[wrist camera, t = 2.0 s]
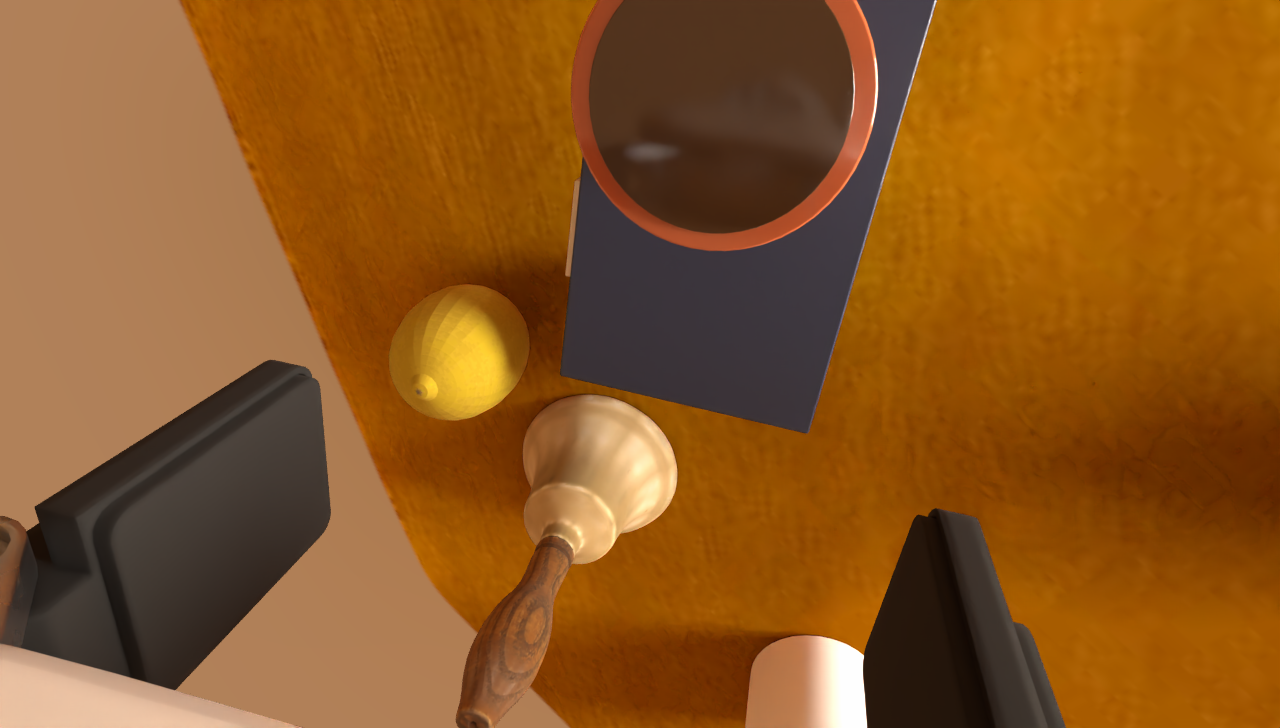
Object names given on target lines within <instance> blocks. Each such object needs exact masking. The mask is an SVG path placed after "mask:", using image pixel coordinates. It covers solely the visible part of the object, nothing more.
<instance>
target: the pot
mask: <svg viewBox="0 0 1280 728" xmlns="http://www.w3.org/2000/svg"><path fill="white" fill-rule="evenodd" d="M877 96H878V69H877V60H876V54H875V48H874V43H873V39H872V36H871V33H870V30H869V27H868V24H867V21H866V18H865V16H864V14H863V12H862V10H861V8H860V6H859V4H858V2H857V0H597V2H596V4H595V6H594V7H593V9H592V11H591V13H590V14H589V16H588V19H587V21H586V24H585V26H584V28H583V31H582V33H581V36H580V39H579V43H578V46H577V50H576V54H575V58H574V65H573V71H572V82H571V103H572V115H573V121H574V126H575V131H576V136H577V139H578V142H579V145H580V148H581V151H582V154H583V157H584V159H585V161H586V163H587V165H588V167H589V170H590V172H591V174H592V175H593V177H594V178H595V180H596V182H597V183H598V185H599V186H600V188H601V189H602V191H603V192H604V193H605V194H606V196H607V197H608V198H609V199H610V201H611V202H612V203H613V204H614V205H615V206H616V207H617V208H618V209H619V210H620V211H621V212H622V213H623V214H624V215H625V216H626V217H628V218H629V219H630V220H632V221H633V222H634V223H636V224H637V225H638V226H640V227H641V228H643V229H644V230H646V231H648V232H650V233H651V234H653V235H655V236H657V237H659V238H661V239H664V240H666V241H669V242H671V243H673V244H677V245H681V246H684V247H688V248H692V249H699V250H706V251H733V250H742V249H748V248H752V247H756V246H760V245H764V244H767V243H769V242H772V241H775V240H777V239H780V238H782V237H784V236H786V235H788V234H790V233H792V232H794V231H795V230H797V229H799V228H801V227H802V226H803V225H805V224H806V223H808V222H809V221H810V220H812V219H813V218H815V217H816V216H817V215H818V214H819V213H820V212H821V211H822V210H824V209H825V208H826V207H827V206H828V205H829V204H830V203H831V202H832V201H833V200H834V198H835V197H836V196H837V195H838V194H839V192H840V191H841V190H842V189H843V188H844V186H845V185H846V183H847V182H848V180H849V179H850V177H851V176H852V174H853V173H854V171H855V169H856V167H857V165H858V163H859V161H860V159H861V157H862V155H863V153H864V151H865V149H866V146H867V143H868V140H869V137H870V134H871V131H872V127H873V123H874V118H875V113H876V108H877Z"/></svg>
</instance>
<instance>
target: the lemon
mask: <svg viewBox="0 0 1280 728" xmlns="http://www.w3.org/2000/svg"><path fill="white" fill-rule="evenodd" d="M529 350H530V343H529V332H528V329H527V326H526V323H525V320H524V318H523V316H522V315H521V313H520V312H519V310H518V308H517V307H516V306H515V305H514V304H513V303H512V302H511V301H510V300H509V299H508V298H506V297H505V296H503V295H502V294H500V293H499V292H497V291H495V290H493V289H490V288H487V287H485V286H479V285H471V284H464V285H456V286H449V287H446V288H443V289H441V290H439V291H437V292H435V293H432V294H430V295H428V296H427V297H425V298H424V299H423V300H421V301H420V302H419V303H418V304H417V305H416V306H415V307H414V308H412V309H411V310H410V311H409V312H408V314H407V315H406V316H405V317H404V319H403V321H402V322H401V324H400V326H399V327H398V329H397V331H396V333H395V334H394V337H393V339H392V343H391V347H390V352H389V369H390V374H391V377H392V381H393V383H394V385H395V387H396V389H397V391H398V392H399V394H400V395H401V397H402V398H403V399H404V400H405V401H406V402H407V403H408V404H409V405H410V406H411V407H413V408H414V409H415V410H417V411H419V412H420V413H422V414H424V415H426V416H428V417H432V418H435V419H439V420H455V421H457V420H461V419H466V418H471V417H474V416H477V415H479V414H481V413H483V412H485V411H486V410H488V409H490V408H492V407H494V406H495V405H497V404H498V403H499V402H501V401H502V400H503V399H504V398H505V397H506V396H507V395H508V394H509V393H510V392H511V391H512V390H513V389H514V387H515V386H516V385H517V383H518V381H519V380H520V378H521V376H522V374H523V372H524V370H525V368H526V365H527V361H528V355H529Z"/></svg>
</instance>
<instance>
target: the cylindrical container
mask: <svg viewBox="0 0 1280 728" xmlns="http://www.w3.org/2000/svg"><path fill="white" fill-rule="evenodd" d="M863 658H864V656H863V655H862V654H861V653H860V652H858V651H857V650H855V649H854V648H852V647H850V646H848V645H847V644H844V643H842V642H839V641H836V640H834V639H830V638H825V637H821V636H809V635H803V636H792V637H788V638H784V639H780V640H778V641H776V642H774V643H771V644H770V645H768V646H767V647H766V648H764V649H763V650H762V651H761V652H760V653H759V654H758V655H757V657H756V659H755V660H754V662H753V664H752V669H751V674H750V685H749V695H748V705H747V715H746V725H745V728H867V721H866V709H865V697H864V684H863Z"/></svg>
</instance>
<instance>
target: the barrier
mask: <svg viewBox="0 0 1280 728" xmlns="http://www.w3.org/2000/svg"><path fill="white" fill-rule="evenodd" d="M936 1H937V0H857V2H858V4H859V6H860V8H861V10H862V12H863V14H864V16H865V18H866V21H867V24H868V27H869V30H870V33H871V36H872V39H873V43H874V48H875V54H876V60H877V69H878V96H877V108H876V113H875V118H874V123H873V127H872V131H871V134H870V137H869V140H868V143H867V146H866V149H865V151H864V153H863V155H862V157H861V159H860V161H859V163H858V165H857V167H856V169H855V171H854V173H853V174H852V176H851V177H850V179H849V180H848V182H847V183H846V185H845V186H844V188H843V189H842V190H841V191H840V192H839V194H838V195H837V196H836V197H835V198H834V200H833V201H832V202H831V203H830V204H829V205H828V206H827V207H826V208H825V209H824V210H822V211H821V212H820V213H819V214H818V215H817V216H816V217H815V218H813V219H812V220H810V221H809V222H808V223H806V224H805V225H803V226H802V227H801V228H799V229H797V230H795V231H794V232H792V233H790V234H788V235H786V236H784V237H782V238H780V239H777V240H775V241H772V242H769V243H767V244H764V245H760V246H756V247H752V248H748V249H742V250H733V251H706V250H699V249H692V248H688V247H684V246H681V245H677V244H673V243H671V242H669V241H666V240H664V239H661V238H659V237H657V236H655V235H653V234H651V233H650V232H648V231H646V230H644V229H643V228H641V227H640V226H638V225H637V224H636V223H634V222H633V221H632V220H630V219H629V218H628V217H626V216H625V215H624V214H623V213H622V212H621V211H620V210H619V209H618V208H617V207H616V206H615V205H614V204H613V203H612V202H611V201H610V199H609V198H608V197H607V196H606V194H605V193H604V192H603V191H602V189H601V188H600V186H599V185H598V183H597V182H596V180H595V178H594V177H593V175H592V174H591V172H590V170H589V167H588V165H587V163H586V161H585V159H584V157H583V159H582V169H581V177H580V178H578V179H577V180H575V185H574V195H573V205H572V215H571V224H570V234H569V244H568V254H567V264H566V273H565V276H569V277H570V283H569V292H568V302H567V311H566V321H565V330H564V340H563V349H562V359H561V368H560V375H561V376H565V377H569V378H573V379H578V380H582V381H586V382H590V383H595V384H599V385H603V386H607V387H611V388H616V389H620V390H624V391H628V392H633V393H637V394H641V395H645V396H650V397H654V398H658V399H662V400H667V401H671V402H675V403H679V404H684V405H688V406H692V407H696V408H700V409H705V410H709V411H713V412H717V413H722V414H726V415H730V416H734V417H739V418H743V419H747V420H751V421H756V422H760V423H764V424H768V425H773V426H777V427H781V428H785V429H789V430H794V431H798V432H802V433H808V432H809V430H810V427H811V423H812V420H813V417H814V413H815V410H816V407H817V403H818V400H819V396H820V393H821V390H822V386H823V383H824V380H825V376H826V373H827V369H828V366H829V363H830V359H831V356H832V353H833V349H834V346H835V342H836V339H837V336H838V332H839V329H840V326H841V322H842V319H843V315H844V312H845V309H846V305H847V302H848V299H849V295H850V292H851V288H852V285H853V282H854V278H855V275H856V272H857V268H858V265H859V261H860V258H861V255H862V251H863V248H864V245H865V241H866V238H867V234H868V231H869V228H870V224H871V221H872V218H873V214H874V211H875V207H876V204H877V201H878V197H879V194H880V190H881V187H882V184H883V180H884V177H885V174H886V170H887V167H888V163H889V160H890V157H891V153H892V150H893V147H894V143H895V140H896V136H897V133H898V130H899V126H900V123H901V120H902V116H903V113H904V109H905V106H906V103H907V99H908V96H909V93H910V89H911V86H912V82H913V79H914V76H915V72H916V69H917V66H918V62H919V59H920V55H921V52H922V49H923V45H924V42H925V39H926V35H927V32H928V28H929V25H930V22H931V18H932V15H933V12H934V8H935V5H936Z"/></svg>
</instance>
